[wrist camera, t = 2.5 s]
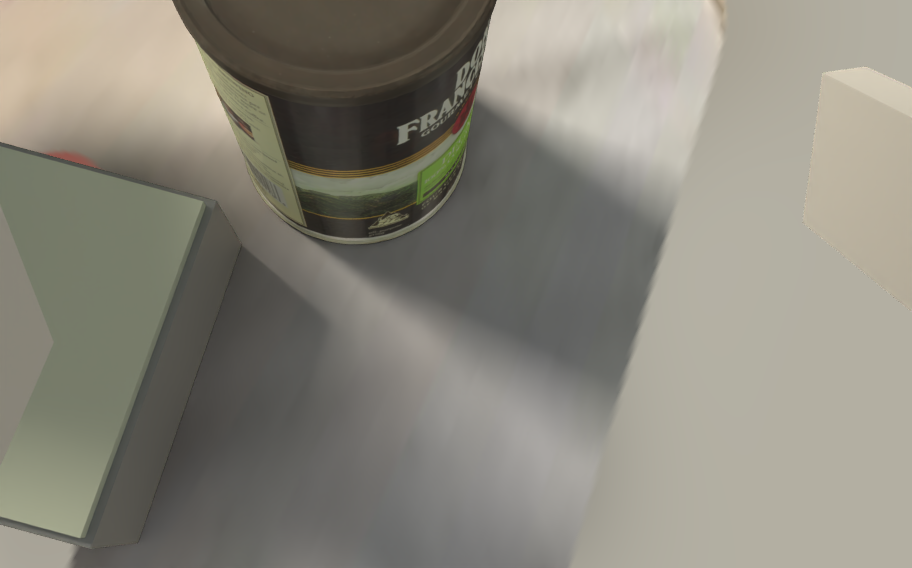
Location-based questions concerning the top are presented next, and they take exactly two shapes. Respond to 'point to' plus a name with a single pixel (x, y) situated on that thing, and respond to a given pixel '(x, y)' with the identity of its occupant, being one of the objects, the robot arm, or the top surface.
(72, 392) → the base block
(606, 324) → the top surface
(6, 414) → the robot arm
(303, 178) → the coffee can
